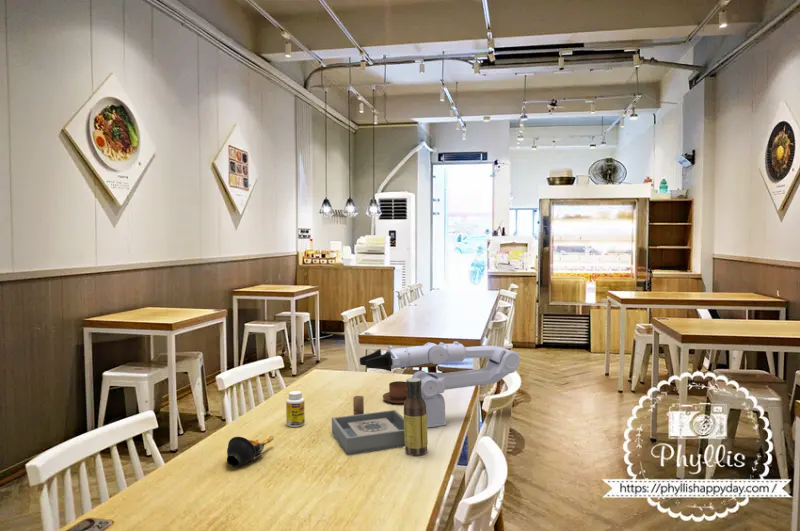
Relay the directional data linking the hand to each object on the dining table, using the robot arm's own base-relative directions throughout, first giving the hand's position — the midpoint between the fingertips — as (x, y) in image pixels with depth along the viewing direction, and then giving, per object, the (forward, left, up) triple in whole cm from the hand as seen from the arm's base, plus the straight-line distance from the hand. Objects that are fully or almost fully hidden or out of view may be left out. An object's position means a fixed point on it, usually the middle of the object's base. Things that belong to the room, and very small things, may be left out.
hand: (363, 362), depth 160 cm
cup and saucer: (-21, -25, -21) cm, 39 cm away
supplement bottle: (+18, -13, -21) cm, 31 cm away
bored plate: (-1, +7, -21) cm, 22 cm away
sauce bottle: (-9, +20, -21) cm, 30 cm away
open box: (-1, +7, -21) cm, 22 cm away
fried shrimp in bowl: (+33, +9, -21) cm, 40 cm away
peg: (-1, -8, -21) cm, 22 cm away
